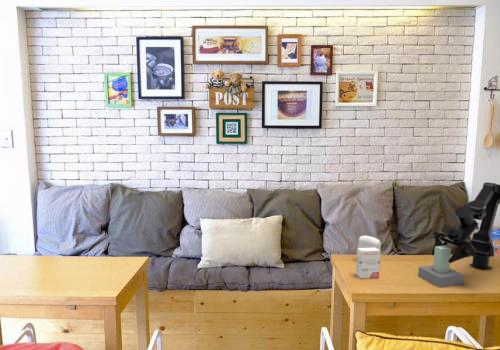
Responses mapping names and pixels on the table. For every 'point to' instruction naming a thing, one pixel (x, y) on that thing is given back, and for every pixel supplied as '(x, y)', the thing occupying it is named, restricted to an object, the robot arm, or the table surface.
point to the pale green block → (441, 259)
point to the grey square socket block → (441, 277)
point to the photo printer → (369, 242)
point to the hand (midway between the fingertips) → (440, 258)
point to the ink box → (368, 262)
